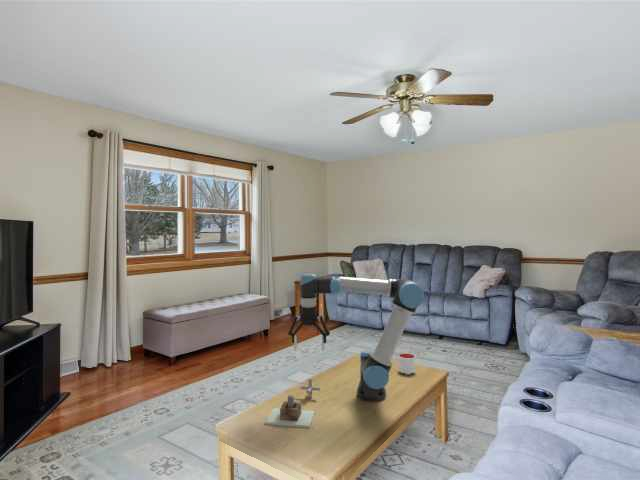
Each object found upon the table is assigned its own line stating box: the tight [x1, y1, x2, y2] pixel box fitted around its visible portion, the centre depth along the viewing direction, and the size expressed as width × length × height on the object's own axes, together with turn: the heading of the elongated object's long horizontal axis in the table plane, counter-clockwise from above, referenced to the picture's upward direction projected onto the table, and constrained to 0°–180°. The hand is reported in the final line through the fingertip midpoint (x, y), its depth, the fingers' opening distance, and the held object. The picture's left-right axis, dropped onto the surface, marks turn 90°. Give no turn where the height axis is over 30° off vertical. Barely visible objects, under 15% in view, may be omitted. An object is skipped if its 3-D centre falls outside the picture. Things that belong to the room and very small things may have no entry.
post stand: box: [264, 394, 316, 429], centre depth 173 cm, size 20×14×10 cm
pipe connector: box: [300, 377, 321, 399], centre depth 195 cm, size 10×10×10 cm
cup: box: [397, 352, 416, 375], centre depth 232 cm, size 10×10×10 cm
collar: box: [279, 400, 302, 421], centre depth 173 cm, size 8×8×5 cm
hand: (309, 349), depth 185 cm, fingers open, 13 cm apart
